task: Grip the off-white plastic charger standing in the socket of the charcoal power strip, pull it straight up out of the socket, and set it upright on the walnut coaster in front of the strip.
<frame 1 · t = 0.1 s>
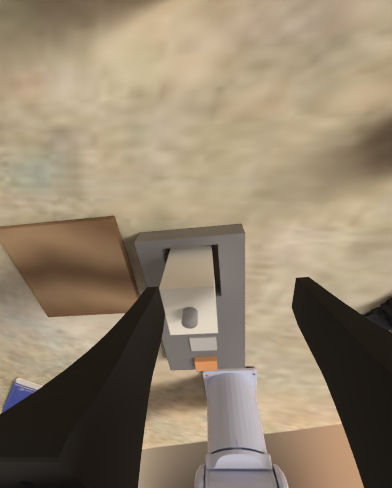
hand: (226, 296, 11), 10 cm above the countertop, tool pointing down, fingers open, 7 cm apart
charger: (194, 262, 22), resting in power strip
hard drive: (37, 395, 39), on the countertop
coaster: (78, 270, 23), on the countertop
power strip: (200, 303, 25), on the countertop
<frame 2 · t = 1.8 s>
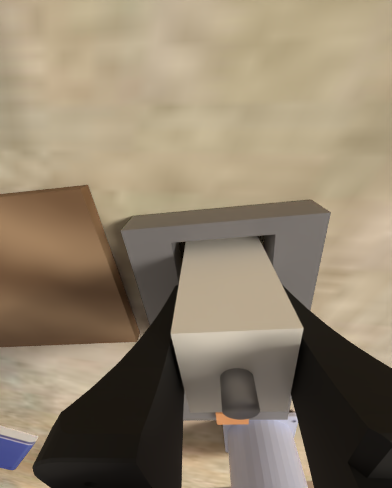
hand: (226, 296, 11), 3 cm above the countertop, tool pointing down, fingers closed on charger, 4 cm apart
charger: (222, 266, 14), resting in power strip, touching gripper
hard drive: (3, 435, 30), on the countertop
coaster: (37, 279, 15), on the countertop
power strip: (225, 329, 17), on the countertop
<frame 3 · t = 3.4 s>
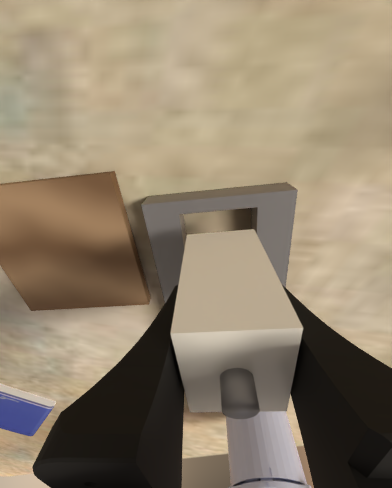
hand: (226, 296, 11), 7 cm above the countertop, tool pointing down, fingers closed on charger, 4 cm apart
charger: (222, 266, 14), point 4 cm above the countertop, touching gripper
hard drive: (23, 403, 34), on the countertop
coaster: (68, 250, 18), on the countertop
power strip: (222, 294, 20), on the countertop
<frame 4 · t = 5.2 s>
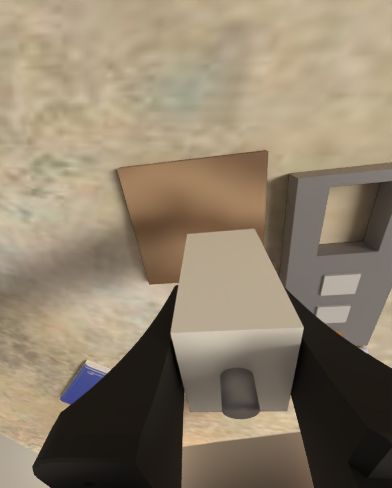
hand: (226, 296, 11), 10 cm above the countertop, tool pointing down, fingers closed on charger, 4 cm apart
charger: (222, 265, 14), point 7 cm above the countertop, touching gripper
hard drive: (99, 382, 35), on the countertop
coaster: (198, 225, 20), on the countertop
power strip: (329, 267, 22), on the countertop
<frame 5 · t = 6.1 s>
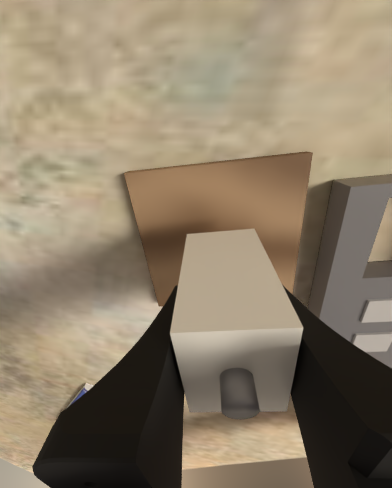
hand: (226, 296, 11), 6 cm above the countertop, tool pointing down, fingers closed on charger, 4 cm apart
charger: (222, 265, 14), point 4 cm above the countertop, touching gripper
coaster: (219, 240, 17), on the countertop
power strip: (369, 288, 19), on the countertop
when the fingers open (5 cm above the countertop, at t = 6.8 s): charger drops 1 cm, resting on coaster.
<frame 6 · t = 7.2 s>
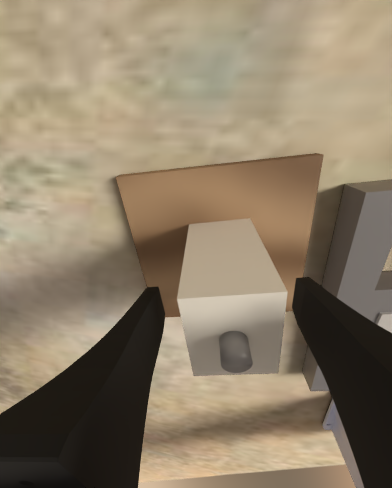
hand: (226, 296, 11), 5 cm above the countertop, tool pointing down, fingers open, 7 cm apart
charger: (221, 253, 15), point 1 cm above the countertop, touching coaster
coaster: (220, 248, 16), on the countertop
power strip: (380, 299, 17), on the countertop
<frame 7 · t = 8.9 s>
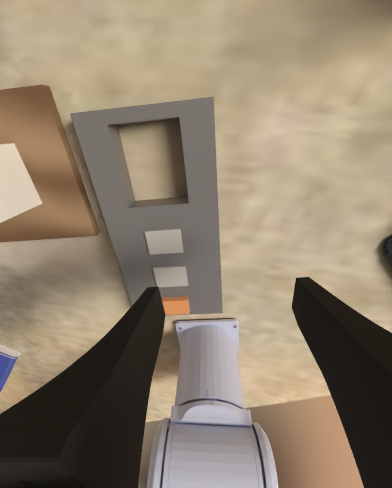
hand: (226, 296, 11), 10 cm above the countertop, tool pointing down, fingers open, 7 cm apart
charger: (7, 177, 18), point 1 cm above the countertop, touching coaster
coaster: (14, 176, 19), on the countertop
power strip: (167, 227, 21), on the countertop
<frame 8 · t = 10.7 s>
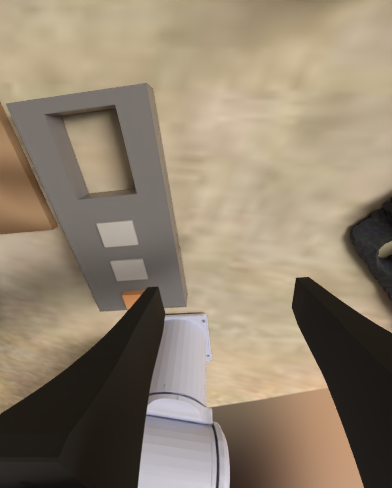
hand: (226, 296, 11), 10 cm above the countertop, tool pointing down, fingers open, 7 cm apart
power strip: (124, 220, 21), on the countertop
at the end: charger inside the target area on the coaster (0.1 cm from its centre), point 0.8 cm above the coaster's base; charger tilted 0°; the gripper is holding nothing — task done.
